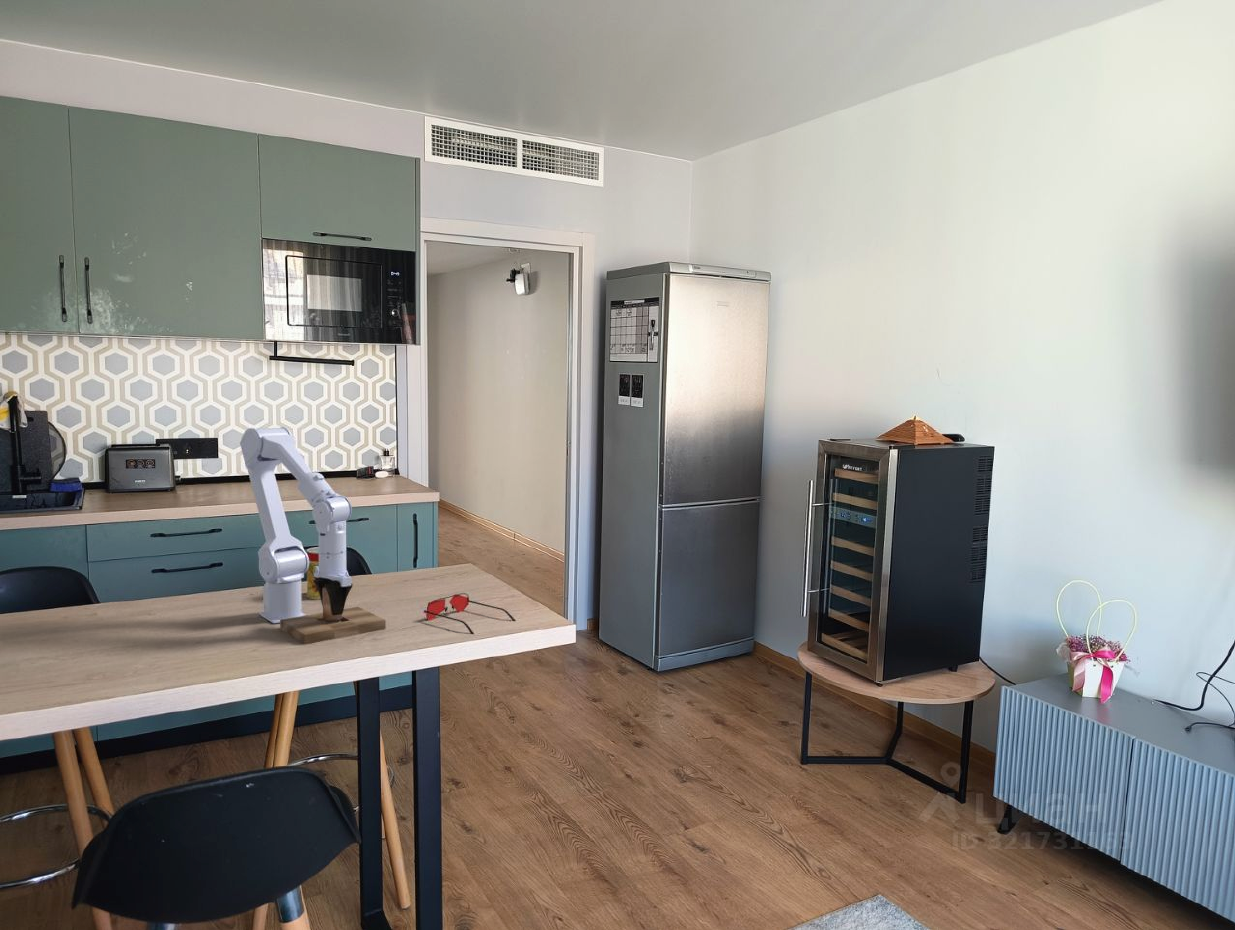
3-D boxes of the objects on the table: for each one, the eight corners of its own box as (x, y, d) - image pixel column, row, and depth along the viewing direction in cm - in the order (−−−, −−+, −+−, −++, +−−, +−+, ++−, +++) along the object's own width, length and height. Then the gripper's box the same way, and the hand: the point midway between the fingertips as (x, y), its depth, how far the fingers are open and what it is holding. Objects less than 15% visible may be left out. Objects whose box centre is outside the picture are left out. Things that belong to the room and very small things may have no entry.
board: (280, 628, 180) (280, 619, 180) (357, 614, 192) (357, 606, 192) (305, 644, 170) (305, 634, 170) (385, 628, 182) (385, 619, 182)
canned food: (333, 599, 205) (333, 552, 204) (302, 599, 205) (301, 552, 204) (344, 592, 213) (343, 546, 212) (314, 591, 213) (313, 546, 212)
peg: (319, 627, 181) (318, 587, 180) (338, 623, 184) (337, 584, 183) (327, 631, 178) (326, 591, 177) (346, 628, 181) (345, 588, 180)
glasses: (466, 609, 200) (466, 589, 200) (516, 622, 191) (516, 601, 190) (422, 622, 189) (422, 601, 189) (473, 636, 180) (473, 614, 179)
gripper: (301, 548, 182) (302, 608, 183) (328, 559, 172) (329, 622, 173) (332, 545, 187) (332, 603, 188) (360, 555, 176) (360, 617, 178)
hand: (333, 612), depth 181 cm, fingers closed on peg, 4 cm apart
